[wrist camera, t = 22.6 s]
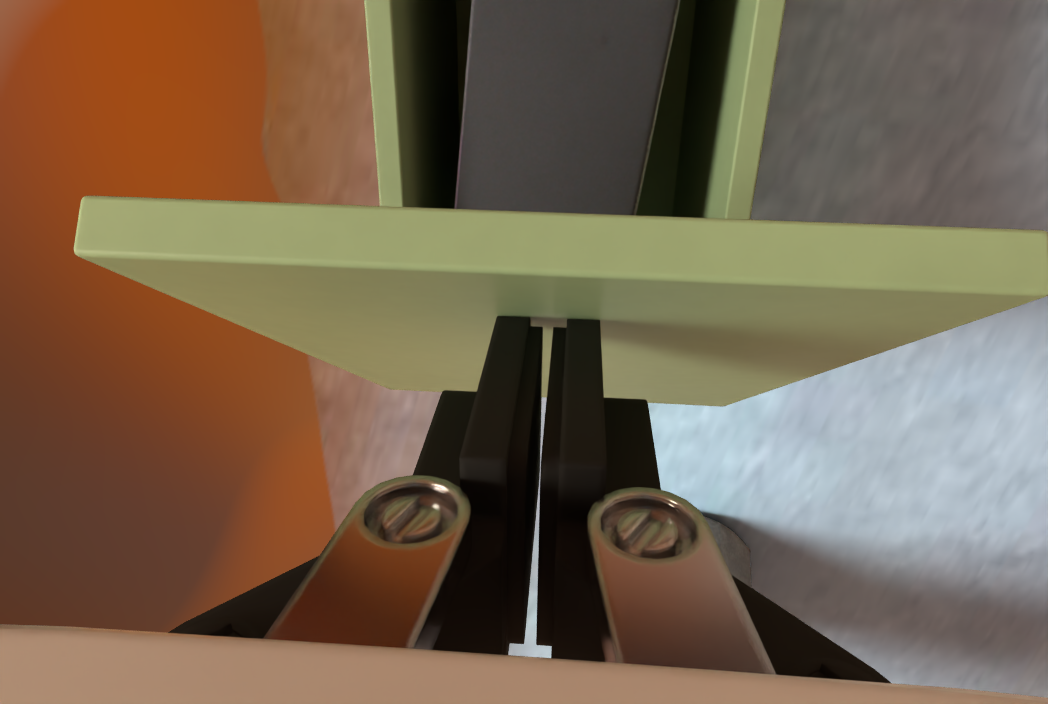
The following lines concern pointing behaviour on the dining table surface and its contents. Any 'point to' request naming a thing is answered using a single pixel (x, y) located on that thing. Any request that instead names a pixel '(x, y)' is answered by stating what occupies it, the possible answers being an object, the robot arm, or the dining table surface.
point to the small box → (561, 103)
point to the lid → (566, 286)
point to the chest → (681, 124)
